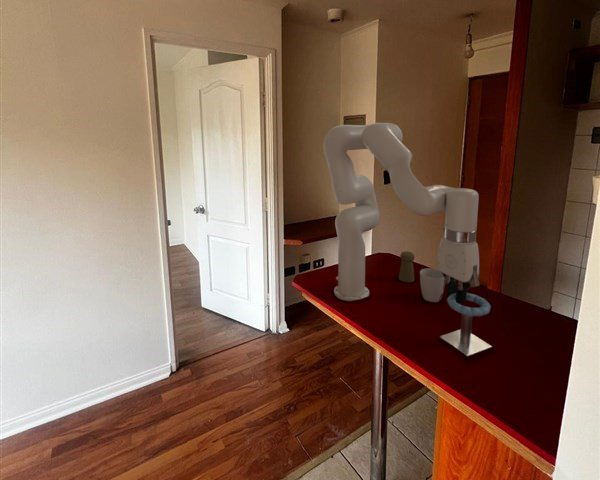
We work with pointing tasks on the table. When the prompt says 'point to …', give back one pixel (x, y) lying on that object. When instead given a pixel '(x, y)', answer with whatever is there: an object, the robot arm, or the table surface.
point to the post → (465, 338)
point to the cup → (432, 284)
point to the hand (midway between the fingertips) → (456, 299)
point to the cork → (406, 267)
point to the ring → (467, 310)
